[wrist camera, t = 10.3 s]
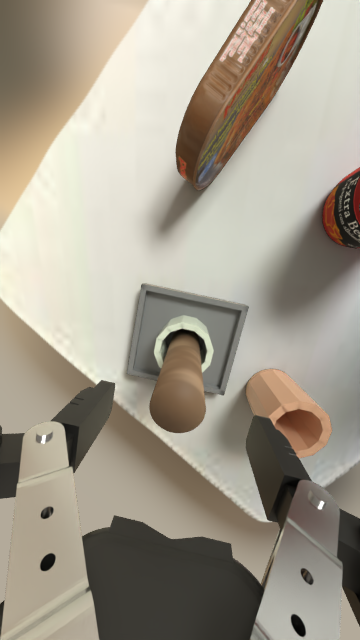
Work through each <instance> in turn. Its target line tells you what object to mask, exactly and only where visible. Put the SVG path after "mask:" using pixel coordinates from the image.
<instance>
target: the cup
mask: <svg viewBox="0 0 360 640" xmlns="http://www.w3.org/2000/svg"><path fill="white" fill-rule="evenodd" d="M246 396H247V399H248V402H249V405H250V407H251V409H252V412H253V414H254V416H255V415H258V416H262V417H267V418H270V419H271V421H272V423H273V425H274V426H275V428H276V430H279V431H280V432H281V433H282V434H283V435H284V436H285V437H286V438H287V439H288V441H289V442H290V444H291V446H292V449H294V451H295V453H296V456H298V458H302V457H306V456H311V455H314V454H315V453H316V452H318V451H319V450H320V449H321V448H323V447H324V446H325V445H326V444H327V442H328V439H329V437H330V435H331V432H332V427H331V423H330V418H329V415H328V414H327V413H326V412H325V411H324V410H323V409H322V408H321V407H320V406H319V405H318V404H317V403H316V402H315V401H314V400H313V399H312V398H311V397H310V396H309V395H308V394H307V393H306V392H305V391H304V390H303V389H302V388H301V387H300V386H299V385H298V384H297V383H296V382H295V381H294V380H293V379H291V378H290V377H289V376H288V375H287V374H286V373H284V372H283V371H280V370H277V369H265V370H262V371H259V372H258V373H256V374H255V375H253V376H252V377H251V379H250V380H249V382H248V383H247V386H246Z"/></svg>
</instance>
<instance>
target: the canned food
mask: <svg viewBox="0 0 360 640" xmlns="http://www.w3.org/2000/svg"><path fill="white" fill-rule="evenodd" d="M322 217H323V225H324V228H325V231H326V232H327V234H328V236H329V237H330V238H331V239H332V240H333V241H335V242H336V243H338V244H340V245H343V246H346V247H352V248H360V167H359V168H358V169H356V170H355V171H353V172H352V173H350V174H349V175H348V176H346V177H345V178H343V179H342V180H341V181H340V182H339V183H338V184H337V185H336V187H335V188H334V189H333V191H332V192H331V193H330V195H329V196H328V198H327V200H326V202H325V205H324V208H323V216H322Z"/></svg>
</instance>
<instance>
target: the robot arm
mask: <svg viewBox="0 0 360 640" xmlns="http://www.w3.org/2000/svg"><path fill="white" fill-rule="evenodd" d="M114 390H115V383H112V382H107V381H103V380H101V381H100V382H99V383H98V384H97V386H96V387H95V388H91V387H89V388H87V389H84V390H82V391H81V392H80V393H79V394H78V395H76V397H75V398H74V399H72V400H71V401H70V403H69V404H67V405H66V406H65V408H63V409H62V410H61V411H60V412H59V413H58V414H57V415H56V416H55V417H54V418H53V419H52V420H51V421H50V422H43V423H40V424H37V425H35V426H33V427H31V428H30V429H29V430H28V431H27V432H26V433H20V434H2V427H1V426H0V499H1V498H10V497H16V500H15V509H14V518H13V527H12V537H11V547H10V555H9V565H8V574H7V583H6V592H5V600H4V601H3V602H2V603H1V604H0V640H340V620H341V619H340V618H341V596H342V588H343V590H344V592H345V594H346V597H347V599H348V601H349V603H350V606H351V608H352V610H353V612H354V615H355V617H356V619H357V622H358V624H359V626H360V519H359V518H357V517H355V516H353V515H351V514H349V513H347V512H345V511H343V510H341V509H340V508H339V507H338V505H337V503H336V501H335V500H334V498H333V497H332V496H331V495H330V494H329V493H328V492H327V491H326V490H325V489H324V488H322V487H321V486H319V485H318V484H316V483H314V482H312V480H311V479H310V477H309V475H308V473H307V472H306V470H305V468H304V467H303V465H302V463H301V461H300V460H299V458H298V456H296V453H295V451H294V449H292V446H291V444H290V442H289V441H288V439H287V438H286V437H285V436H284V435H283V434H282V433H281V432H280V431H279V430H276V428H275V426H274V425H273V423H272V421H271V419H270V418H267V417H262V416H258V415H255V416H254V417H253V420H252V423H251V426H250V430H249V433H248V436H247V440H246V450H247V454H248V457H249V461H250V464H251V467H252V471H253V474H254V477H255V480H256V484H257V487H258V490H259V494H260V497H261V500H262V504H263V507H264V510H265V514H266V517H267V520H269V521H273V522H278V524H279V526H280V530H279V533H278V536H277V538H276V541H275V544H274V547H273V550H272V553H271V556H270V559H269V562H268V565H267V568H266V570H265V573H264V576H263V579H262V582H261V584H260V583H259V581H258V580H257V579H256V578H255V577H254V576H253V574H252V573H251V572H250V571H249V570H248V569H246V568H245V567H244V566H243V565H242V564H241V563H239V562H238V561H237V560H235V559H234V558H233V556H232V549H231V544H230V543H225V542H221V541H217V540H213V539H209V538H205V537H194V538H183V539H170V538H168V537H166V536H164V535H163V534H161V533H159V532H157V531H156V530H154V529H153V528H151V527H149V526H148V525H146V524H144V523H143V522H139V521H135V520H131V519H127V518H123V517H119V516H114V518H113V520H112V523H111V527H108V528H102V529H98V530H95V531H92V532H90V533H88V534H86V535H84V536H82V534H81V527H80V519H79V512H78V505H77V497H76V490H75V482H74V475H73V473H75V471H76V469H77V468H78V466H79V464H80V463H81V461H82V460H83V458H84V456H85V455H86V453H87V452H88V450H89V448H90V447H91V445H92V443H93V442H94V440H95V439H96V437H97V435H98V434H99V432H100V430H101V429H102V427H103V426H104V424H105V423H106V421H107V419H108V418H109V415H110V413H111V409H112V404H113V397H114Z"/></svg>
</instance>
